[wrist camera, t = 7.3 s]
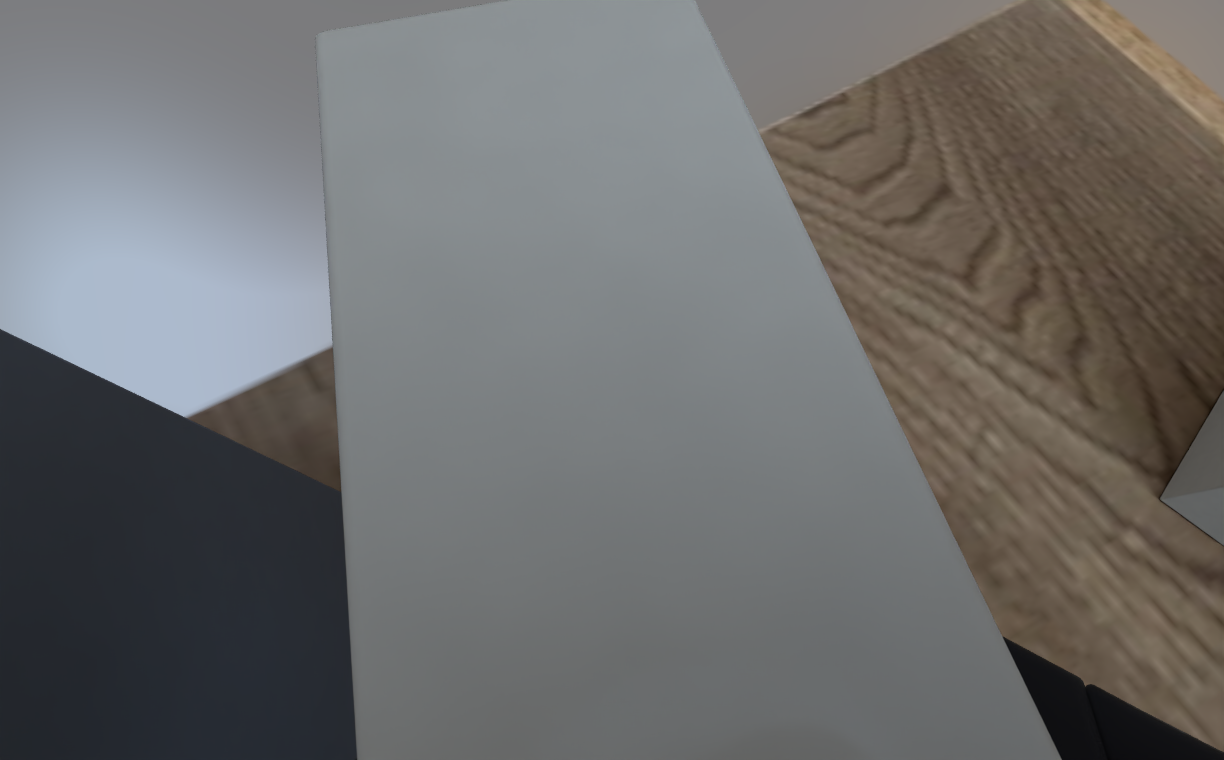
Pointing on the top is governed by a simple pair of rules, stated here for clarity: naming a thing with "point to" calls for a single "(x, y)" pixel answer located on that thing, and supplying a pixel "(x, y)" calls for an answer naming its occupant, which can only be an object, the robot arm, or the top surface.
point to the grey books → (160, 583)
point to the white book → (618, 420)
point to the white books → (1202, 478)
